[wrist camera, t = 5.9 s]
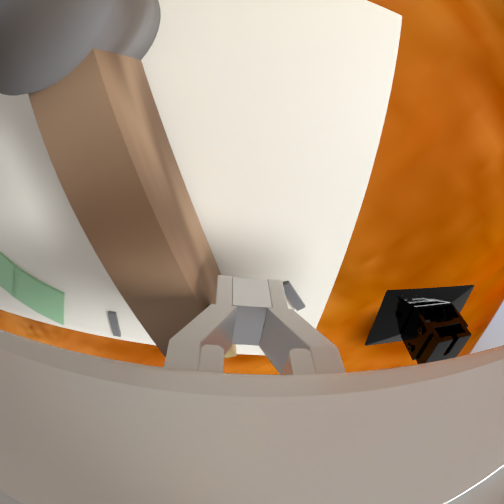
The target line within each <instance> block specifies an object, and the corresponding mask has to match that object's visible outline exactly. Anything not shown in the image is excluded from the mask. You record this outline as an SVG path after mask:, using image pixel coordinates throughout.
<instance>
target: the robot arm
mask: <svg viewBox="0 0 504 504" xmlns="http://www.w3.org/2000/svg"><path fill="white" fill-rule="evenodd" d="M232 344H235V345H255V346H259V347H260V348H261V350H262V351H263V352H264V354H265V355H266V356H267V358H268V359H269V360H270V361H271V363H272V364H273V365H274V367H275V368H276V369H277V370H278V372H279V373H280V374H281V375H253V374H229V373H224V355H225V354H226V353H227V351H228V350H229V349H230V348H231V346H232ZM0 504H504V345H503V346H500V347H497V348H492V349H489V350H485V351H481V352H477V353H473V354H469V355H464V356H460V357H455V358H450V359H445V360H440V361H435V362H429V363H423V364H417V365H411V366H404V367H396V368H389V369H380V370H371V371H361V372H348V373H346V372H345V369H344V365H343V362H342V359H341V356H340V353H339V350H338V347H336V346H335V345H334V344H333V343H332V342H331V341H329V340H328V339H327V338H326V337H325V336H323V335H322V334H321V333H320V332H319V331H317V330H316V329H315V328H314V327H313V326H312V325H310V324H309V323H308V322H307V321H306V320H305V319H303V318H302V317H301V316H300V315H299V314H298V313H296V312H295V311H294V310H293V309H288V305H287V300H286V296H285V292H284V287H283V283H282V281H281V280H279V279H256V278H246V277H236V276H224V275H218V277H217V288H216V302H215V304H211V305H209V306H208V307H207V308H206V309H205V310H204V311H203V312H201V313H200V314H199V315H198V316H197V317H196V318H194V319H193V320H192V321H191V322H190V323H189V324H187V325H186V326H185V327H184V328H183V329H182V330H180V331H179V332H178V333H177V334H176V335H174V336H173V337H172V338H171V339H170V340H169V344H168V349H167V354H166V359H165V364H164V368H163V367H156V366H149V365H142V364H135V363H129V362H123V361H118V360H112V359H107V358H102V357H97V356H93V355H88V354H83V353H79V352H75V351H71V350H67V349H63V348H59V347H55V346H51V345H48V344H44V343H41V342H37V341H34V340H31V339H27V338H24V337H21V336H18V335H15V334H12V333H9V332H6V331H3V330H0Z"/></svg>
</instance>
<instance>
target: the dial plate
mask: <svg viewBox="0 0 504 504" xmlns="http://www.w3.org/2000/svg"><path fill="white" fill-rule="evenodd" d="M158 2H159V5H160V13H161V18H160V25H159V29H158V32H157V35H156V38H155V40H154V42H153V44H152V46H151V47H150V49H149V51H148V52H147V53H146V55H145V56H144V57H143V59H142V60H141V62H142V65H143V68H144V71H145V74H146V77H147V80H148V83H149V86H150V89H151V92H152V95H153V98H154V100H155V103H156V106H157V109H158V112H159V115H160V118H161V120H162V123H163V126H164V129H165V132H166V134H167V137H168V140H169V143H170V145H171V148H172V151H173V154H174V156H175V159H176V162H177V164H178V167H179V170H180V172H181V175H182V178H183V180H184V183H185V186H186V188H187V191H188V193H189V196H190V198H191V201H192V204H193V206H194V209H195V211H196V214H197V216H198V219H199V221H200V224H201V226H202V229H203V231H204V234H205V236H206V239H207V241H208V244H209V246H210V249H211V251H212V253H213V256H214V258H215V261H216V263H217V265H218V268H219V270H220V273H221V275H224V276H236V277H246V278H256V279H279V280H281V281H282V283H283V287H284V292H285V296H286V300H287V305H288V309H293V310H294V311H295V312H296V313H298V314H299V315H300V316H301V317H302V318H303V319H305V320H306V321H307V322H308V323H309V324H310V325H312V326H313V327H314V328H315V329H316V327H317V324H318V322H319V320H320V317H321V315H322V312H323V310H324V307H325V305H326V303H327V300H328V298H329V295H330V293H331V290H332V287H333V285H334V282H335V280H336V277H337V274H338V272H339V269H340V266H341V264H342V261H343V258H344V255H345V253H346V250H347V247H348V244H349V241H350V238H351V235H352V232H353V229H354V226H355V223H356V220H357V217H358V214H359V211H360V208H361V205H362V201H363V198H364V195H365V192H366V188H367V185H368V181H369V178H370V174H371V171H372V167H373V164H374V160H375V156H376V152H377V148H378V145H379V141H380V137H381V132H382V128H383V124H384V120H385V115H386V111H387V106H388V102H389V97H390V92H391V87H392V81H393V76H394V70H395V65H396V59H397V52H398V46H399V39H400V31H401V23H402V16H401V15H399V14H397V13H395V12H392V11H390V10H388V9H386V8H384V7H381V6H379V5H377V4H374V3H372V2H369V1H367V0H158ZM0 309H1V310H4V311H7V312H10V313H13V314H16V315H20V316H23V317H26V318H30V319H33V320H37V321H40V322H44V323H48V324H52V325H56V326H60V327H64V328H68V329H72V330H76V331H81V332H85V333H90V334H95V335H100V336H105V337H110V338H115V339H121V340H126V341H132V342H138V343H145V344H151V345H156V344H155V343H154V341H153V340H152V339H151V337H150V336H149V335H148V333H147V332H146V330H145V329H144V328H143V326H142V325H141V323H140V322H139V321H138V319H137V318H136V316H135V315H134V313H133V312H132V310H131V309H130V307H129V306H128V304H127V303H126V301H125V300H124V298H123V297H122V295H121V294H120V292H119V291H118V289H117V288H116V286H115V284H114V283H113V281H112V280H111V278H110V276H109V275H108V273H107V271H106V270H105V268H104V266H103V265H102V263H101V261H100V260H99V258H98V256H97V254H96V253H95V251H94V249H93V247H92V245H91V244H90V242H89V240H88V238H87V236H86V234H85V233H84V231H83V229H82V227H81V225H80V223H79V221H78V219H77V217H76V215H75V213H74V211H73V209H72V207H71V205H70V203H69V201H68V199H67V196H66V194H65V192H64V190H63V188H62V186H61V183H60V181H59V179H58V176H57V174H56V172H55V169H54V167H53V165H52V162H51V160H50V157H49V155H48V152H47V149H46V147H45V144H44V141H43V139H42V136H41V133H40V130H39V127H38V124H37V121H36V118H35V115H34V112H33V109H32V106H31V102H30V99H29V95H28V94H22V95H17V96H9V95H4V94H1V93H0ZM236 354H250V355H265V354H264V352H263V351H262V350H261V348H260V347H259V346H255V345H236Z"/></svg>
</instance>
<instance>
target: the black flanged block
mask: <svg viewBox="0 0 504 504" xmlns="http://www.w3.org/2000/svg"><path fill="white" fill-rule="evenodd" d="M473 287H474V285H466V286H453V287H438V288H422V289H403V290H388V291H387V292H386V293H385V296H384V299H383V301H382V304H381V307H380V309H379V312H378V314H377V317H376V319H375V322H374V324H373V326H372V329H371V331H370V334H369V336H368V338H367V340H366V343H365V345H374V344H382V343H389V342H396V341H402V340H403V342H404V344H405V346H406V348H407V350H408V352H409V354H410V356H411V358H412V360H416V361H417V363H418V364H423V363H429V362H435V361H440V360H445V359H450V358H455V357H457V355H458V354H459V352H460V351H461V350H462V348H463V347H464V345H465V344H466V342H467V341H468V339H469V338H470V336H471V333H470V332H469V330H468V329H467V327H468V325H467V323H466V322H465V320H464V319H463V318H462V316H461V315H460V311H461V310H462V308H463V306H464V304H465V303H466V301H467V299H468V297H469V295H470V293H471V291H472V289H473Z"/></svg>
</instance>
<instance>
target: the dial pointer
mask: <svg viewBox="0 0 504 504" xmlns="http://www.w3.org/2000/svg"><path fill="white" fill-rule="evenodd" d="M160 18H161V13H160V5H159V2H158V0H0V93H1V94H4V95H9V96H17V95H22V94H28V95H29V99H30V102H31V106H32V109H33V112H34V115H35V118H36V121H37V124H38V127H39V130H40V133H41V136H42V139H43V141H44V144H45V147H46V149H47V152H48V155H49V157H50V160H51V162H52V165H53V167H54V169H55V172H56V174H57V176H58V179H59V181H60V183H61V186H62V188H63V190H64V192H65V194H66V196H67V199H68V201H69V203H70V205H71V207H72V209H73V211H74V213H75V215H76V217H77V219H78V221H79V223H80V225H81V227H82V229H83V231H84V233H85V234H86V236H87V238H88V240H89V242H90V244H91V245H92V247H93V249H94V251H95V253H96V254H97V256H98V258H99V260H100V261H101V263H102V265H103V266H104V268H105V270H106V271H107V273H108V275H109V276H110V278H111V280H112V281H113V283H114V284H115V286H116V288H117V289H118V291H119V292H120V294H121V295H122V297H123V298H124V300H125V301H126V303H127V304H128V306H129V307H130V309H131V310H132V312H133V313H134V315H135V316H136V318H137V319H138V321H139V322H140V323H141V325H142V326H143V328H144V329H145V330H146V332H147V333H148V335H149V336H150V337H151V339H152V340H153V341H154V343H155V344H156V345H157V347H158V348H159V349H160V351H161V352H162V353H163V355H164V356H165V357H166V354H167V349H168V344H169V340H170V339H171V338H172V337H173V336H174V335H176V334H177V333H178V332H179V331H180V330H182V329H183V328H184V327H185V326H186V325H187V324H189V323H190V322H191V321H192V320H193V319H194V318H196V317H197V316H198V315H199V314H200V313H201V312H203V311H204V310H205V309H206V308H207V307H208V306H209V305H211V304H215V302H216V288H217V277H218V275H221V273H220V270H219V268H218V265H217V263H216V261H215V258H214V256H213V253H212V251H211V249H210V246H209V244H208V241H207V239H206V236H205V234H204V231H203V229H202V226H201V224H200V221H199V219H198V216H197V214H196V211H195V209H194V206H193V204H192V201H191V198H190V196H189V193H188V191H187V188H186V186H185V183H184V180H183V178H182V175H181V172H180V170H179V167H178V164H177V162H176V159H175V156H174V154H173V151H172V148H171V145H170V143H169V140H168V137H167V134H166V132H165V129H164V126H163V123H162V120H161V118H160V115H159V112H158V109H157V106H156V103H155V100H154V98H153V95H152V92H151V89H150V86H149V83H148V80H147V77H146V74H145V71H144V68H143V65H142V62H141V60H142V59H143V57H144V56H145V55H146V53H147V52H148V51H149V49H150V47H151V46H152V44H153V42H154V40H155V38H156V35H157V32H158V29H159V25H160ZM233 356H236V345H235V344H232V346H231V348H230V349H229V350H228V351H227V353H226V354H225V355H224V358H228V357H233Z"/></svg>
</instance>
